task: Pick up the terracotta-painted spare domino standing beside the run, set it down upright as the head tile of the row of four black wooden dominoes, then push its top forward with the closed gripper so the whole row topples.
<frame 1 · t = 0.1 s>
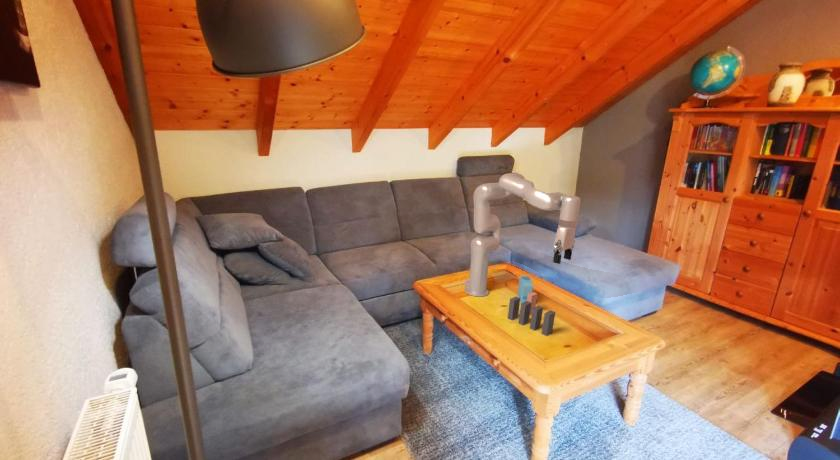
hand: (561, 260, 179), 31 cm above the table, fingers open, 9 cm apart
domino 5: (546, 333, 178), on the table
domino 4: (534, 327, 182), on the table
spare domino: (529, 312, 197), on the table
domino 3: (523, 322, 186), on the table
data package: (523, 301, 211), on the table
domino 2: (512, 317, 191), on the table
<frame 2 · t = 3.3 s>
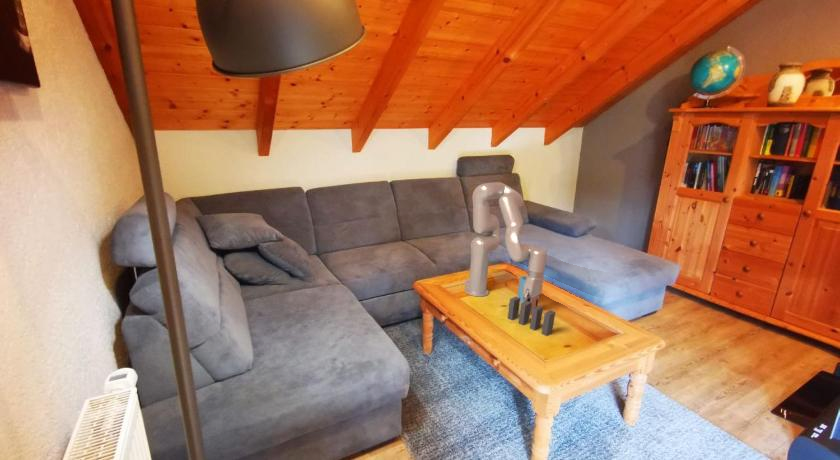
hand: (530, 308, 197), 2 cm above the table, fingers closed on spare domino, 4 cm apart
spare domino: (530, 312, 197), on the table, touching gripper
everything else where it was.
when the fingers open (3 cm above the table, at t = 8.6 s): spare domino stays where it is, on the table.
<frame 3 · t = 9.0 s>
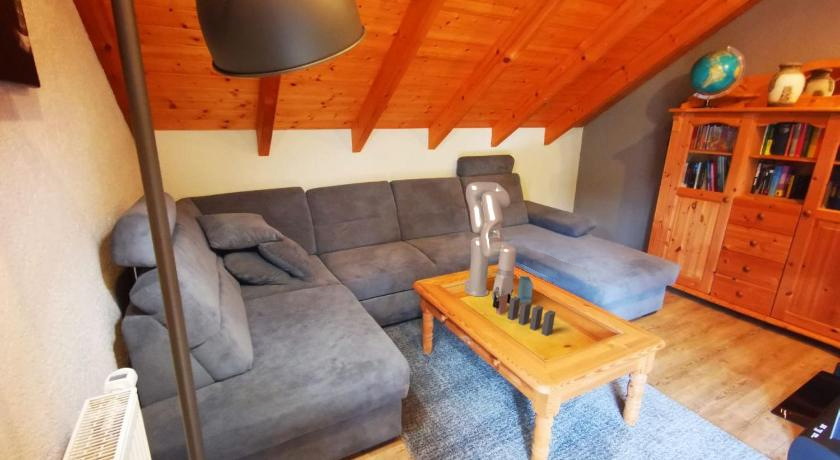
hand: (501, 305, 194), 4 cm above the table, fingers open, 9 cm apart
spare domino: (500, 312, 195), on the table
everything else where it was.
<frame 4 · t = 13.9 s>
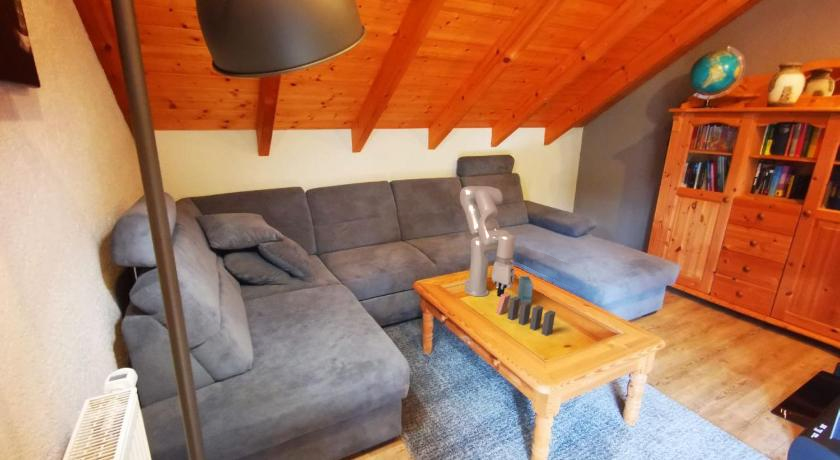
hand: (500, 295, 194), 8 cm above the table, fingers closed
spare domino: (500, 312, 195), on the table, tilted 10°
everything else where it was.
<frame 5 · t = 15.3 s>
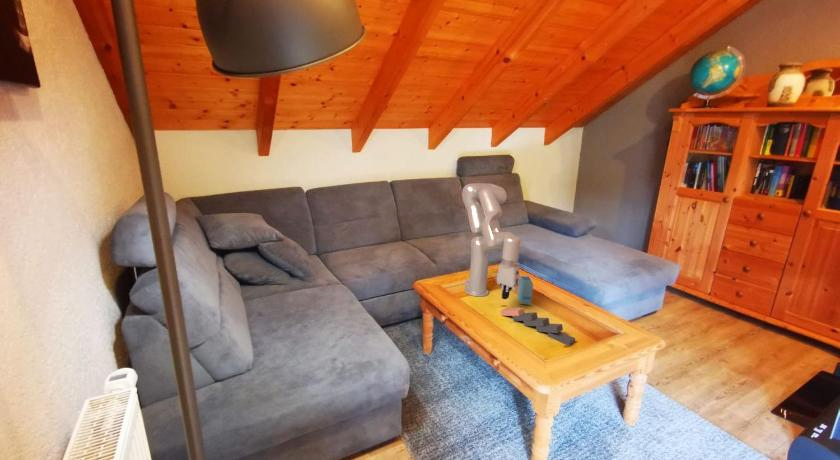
hand: (505, 298, 192), 8 cm above the table, fingers closed
domino 5: (550, 333, 177), point 1 cm above the table, tilted 90°, touching domino 4
domino 4: (539, 327, 181), point 1 cm above the table, tilted 70°, touching domino 3, domino 5
spare domino: (503, 311, 194), point 1 cm above the table, tilted 68°, touching domino 2
domino 3: (526, 321, 185), point 1 cm above the table, tilted 68°, touching domino 2, domino 4
domino 2: (516, 317, 189), point 1 cm above the table, tilted 66°, touching domino 3, spare domino
everything else where it was.
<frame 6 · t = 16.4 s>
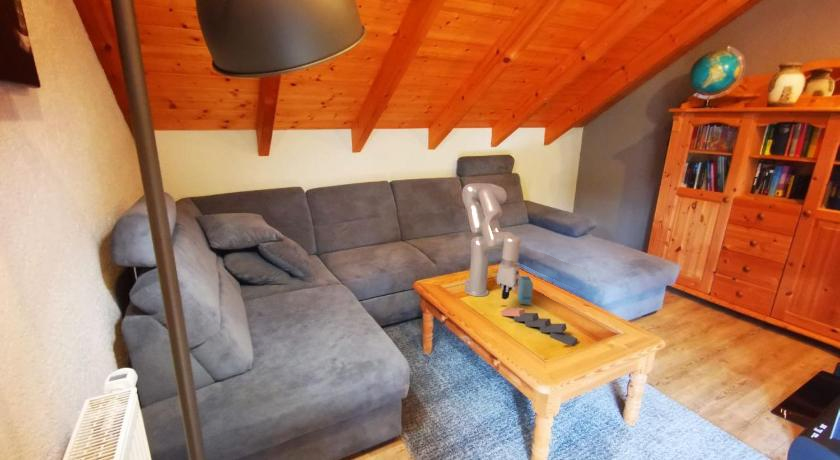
hand: (505, 298, 192), 8 cm above the table, fingers closed
domino 4: (542, 328, 180), point 1 cm above the table, tilted 69°, touching domino 5
domino 3: (528, 322, 185), point 1 cm above the table, tilted 69°, touching domino 2
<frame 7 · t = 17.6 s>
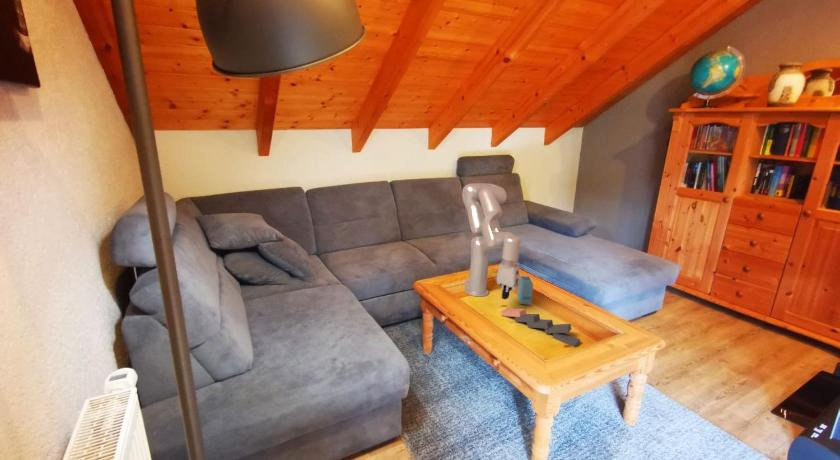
hand: (505, 298, 192), 8 cm above the table, fingers closed
domino 5: (555, 334, 176), point 1 cm above the table, tilted 90°
domino 4: (546, 329, 179), point 1 cm above the table, tilted 68°, touching domino 3
domino 3: (529, 323, 184), point 1 cm above the table, tilted 71°, touching domino 2, domino 4
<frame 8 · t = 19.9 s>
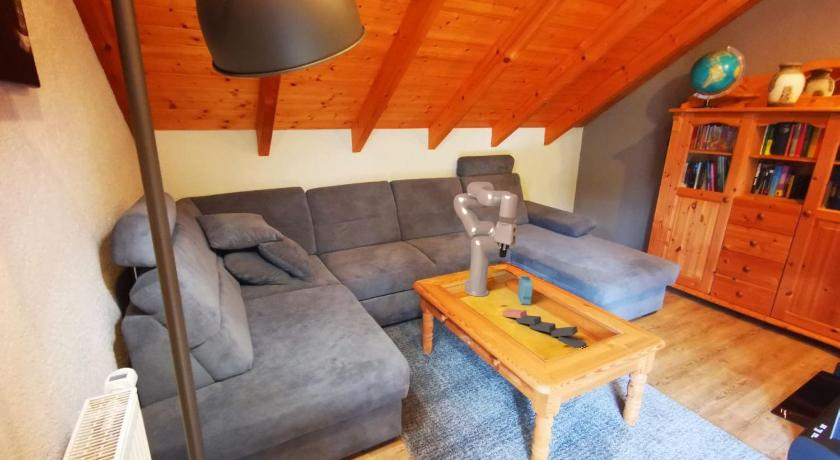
hand: (502, 256, 193), 27 cm above the table, fingers closed
domino 5: (561, 337, 174), point 1 cm above the table, tilted 90°, touching domino 4
domino 4: (553, 332, 176), point 1 cm above the table, tilted 62°, touching domino 3, domino 5
domino 3: (532, 324, 183), point 1 cm above the table, tilted 74°, touching domino 2, domino 4
domino 2: (519, 318, 188), point 1 cm above the table, tilted 71°, touching domino 3, spare domino
at the end: domino 5 tilted 90°; domino 3 tilted 74°; spare domino tilted 72° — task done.
